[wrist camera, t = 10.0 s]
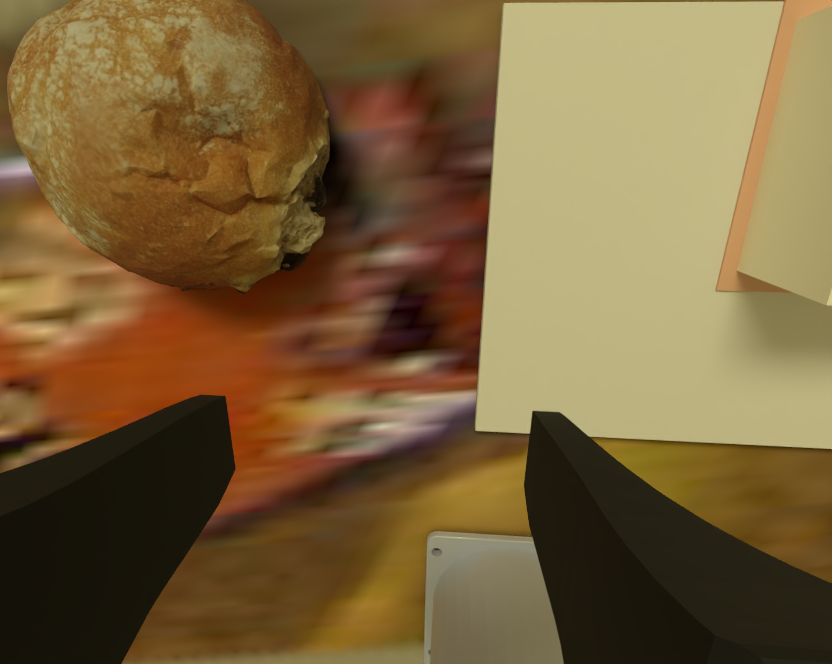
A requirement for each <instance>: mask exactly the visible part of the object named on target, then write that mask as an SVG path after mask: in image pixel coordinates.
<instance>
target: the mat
mask: <svg viewBox="0 0 832 664" xmlns="http://www.w3.org/2000/svg"><path fill="white" fill-rule="evenodd" d="M830 6H832V0H784V2H622V3H504V4H503V7H502V16H501V32H500V47H499V62H498V78H497V93H496V108H495V123H494V139H493V154H492V169H491V184H490V200H489V215H488V230H487V246H486V261H485V276H484V291H483V307H482V322H481V337H480V353H479V368H478V383H477V398H476V414H475V431H489V432H509V433H529V434H530V428H531V419H532V411H549V412H560V413H562V414H563V415H564V416H566V417H567V418H568V419H569V420H570V421H571V422H573V423H574V424H575V425H576V426H577V427H578V428H579V429H581V430H582V431H583V432H584V433H585V434H586V435H588V436H589V437H608V438H627V439H647V440H667V441H687V442H706V443H726V444H746V445H766V446H785V447H805V448H825V449H832V306H830V305H824V304H821V303H819V302H816V301H814V300H811V299H809V298H806V297H803V296H801V295H798V294H796V293H793V292H791V291H788V290H785V289H783V288H780V287H778V286H775V285H773V284H770V283H767V282H765V281H762V280H760V279H757V278H755V277H752V276H749V275H747V274H744V273H742V272H739V271H737V267H738V263H739V259H740V254H741V250H742V246H743V242H744V238H745V233H746V229H747V225H748V221H749V217H750V212H751V208H752V204H753V200H754V196H755V191H756V187H757V183H758V179H759V175H760V170H761V166H762V162H763V158H764V154H765V149H766V145H767V141H768V137H769V133H770V128H771V124H772V120H773V116H774V112H775V107H776V103H777V99H778V95H779V91H780V86H781V82H782V78H783V74H784V70H785V66H786V61H787V57H788V53H789V49H790V45H791V40H792V36H793V32H794V28H795V24H796V20H798V19H800V18H803V17H805V16H808V15H810V14H813V13H815V12H818V11H820V10H822V9H825V8H827V7H830Z"/></svg>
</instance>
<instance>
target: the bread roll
mask: <svg viewBox="0 0 832 664" xmlns="http://www.w3.org/2000/svg"><path fill="white" fill-rule="evenodd" d="M7 93H8V100H9V110H10V112H11V119H12V125H13V130H14V134H15V140H16V141H17V142H18V144H19V146H20V148H21V150H22V152H23V153H24V155H25V157H26V159H27V161H28V164H29V166H30V168H31V170H32V172H33V174H34V176H35V178H36V181H37V183H38V185H39V187H40V189H41V191H42V193H43V195H44V196H45V198H46V199H47V201H48V203H49V204H50V206H51V207H52V209H53V210H54V211H55V213H56V215H57V216H58V218H59V219H60V220H61V221H62V222H63V223H64V224H65V225H66V226H67V227H68V229H69V230H70V231H71V232H72V233H73V234H74V235H75V236H76V237H77V238H78V239H79V240H80V241H81V242H82V243H83V244H84V245H85V246H87V247H88V248H90V249H91V250H93V251H95V252H97V253H99V254H100V255H102V256H104V257H106V258H107V259H109V260H111V261H113V262H114V263H116V264H117V265H119V266H121V267H122V268H124V269H125V270H127V271H129V272H133V273H136V274H138V275H140V276H143V277H145V278H148V279H150V280H152V281H155V282H157V283H160V284H164V285H169V286H178V287H180V288H181V290H182V291H184V290H189V289H214V290H215V289H220V288H227V287H233V288H235V289H236V290H237V291H238V292H240V293H243V294H244V293H246V292H247V291H249V290H250V289H251V288H252V286H253V285H254V284H255V283H256V282H257V281H259V280H260V279H262V278H264V277H266V276H268V275H270V274H273V273H275V272H276V271H277V270H280V271H281V270H285V271H292V270H294V269H296V268H298V267H299V266H301V265H302V264H303V263H304V262H305V258H306V257H307V256H308V254H309V251H310V249H311V246H312V244H313V243H315V242H316V241H317V240H318V239H319V238H320V237H321V236H322V234H323V227H324V225H325V217H320V216H319V215H318V214H317V213H316V212H317V211H319V210H320V209H321V208H322V207H323V206H324V205H326V192H325V186H324V184H323V181H322V176H323V173H324V171H325V168H326V164H327V162H328V161H329V152H330V146H329V143H330V136H329V128H328V117H329V111H328V110H327V109H326V105H325V101H324V98H323V95H322V92H321V90H320V87H319V85H318V82H317V80H316V77H315V75H314V74H313V72H312V70H311V68H310V66H309V65H308V63H307V62H306V61H305V59H304V58H303V57H302V55H301V54H300V53H299V52H298V50H297V49H296V48H295V47H294V46H293V45H292V44H290V43H289V42H285V41H283V40H282V39H281V37H280V36H279V34H278V32H277V30H276V29H275V28H274V27H273V26H272V24H271V23H270V22H269V21H268V20H267V19H266V18H265V17H264V16H263V15H262V14H261V13H260V12H259V11H257V10H256V9H255V8H254V7H253V6H252V5H251V4H250V3H248V2H247V1H246V0H74V1H72V2H69V3H67V4H66V5H65V6H63V7H60V8H58V9H56V10H55V11H53V12H51V13H49V14H48V15H46V16H44V17H42V18H40V19H38V21H37V22H36V23H35V24H34V25H33V26H32V27H31V28H30V29H29V30H28V31H27V32H26V34H25V35H24V37H23V39H22V40H21V42H20V44H19V46H18V48H17V51H16V54H15V56H14V59H13V62H12V65H11V67H10V70H9V73H8V76H7ZM274 206H275V207H274Z"/></svg>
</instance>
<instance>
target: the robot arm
mask: <svg viewBox="0 0 832 664" xmlns="http://www.w3.org/2000/svg"><path fill="white" fill-rule="evenodd" d="M234 471H235V462H234V455H233V448H232V440H231V433H230V426H229V419H228V412H227V404H226V397H225V396H213V395H199V396H195V397H192V398H189V399H186V400H184V401H181V402H179V403H176V404H174V405H171V406H169V407H167V408H164V409H162V410H160V411H157V412H155V413H153V414H151V415H148V416H146V417H144V418H142V419H139V420H137V421H135V422H133V423H130V424H128V425H126V426H123V427H121V428H119V429H117V430H114V431H112V432H109V433H107V434H105V435H102V436H100V437H97V438H95V439H92V440H90V441H87V442H85V443H83V444H80V445H78V446H75V447H73V448H70V449H68V450H65V451H63V452H60V453H58V454H55V455H52V456H50V457H47V458H44V459H41V460H38V461H36V462H33V463H30V464H27V465H24V466H21V467H18V468H15V469H12V470H9V471H6V472H3V473H0V664H121V663H122V661H123V659H124V658H125V656H126V654H127V652H128V650H129V648H130V646H131V645H132V643H133V641H134V639H135V637H136V635H137V633H138V631H139V630H140V628H141V626H142V624H143V622H144V620H145V618H146V616H147V615H148V613H149V611H150V610H151V608H152V606H153V605H154V603H155V601H156V600H157V598H158V596H159V595H160V593H161V592H162V590H163V589H164V587H165V586H166V584H167V583H168V581H169V580H170V578H171V577H172V575H173V574H174V572H175V571H176V569H177V568H178V566H179V565H180V563H181V562H182V560H183V559H184V557H185V556H186V554H187V553H188V551H189V550H190V548H191V547H192V545H193V544H194V542H195V541H196V539H197V538H198V536H199V534H200V533H201V531H202V530H203V528H204V527H205V525H206V524H207V522H208V521H209V519H210V518H211V516H212V515H213V513H214V511H215V510H216V508H217V507H218V505H219V503H220V501H221V499H222V497H223V495H224V493H225V491H226V489H227V486H228V484H229V482H230V480H231V478H232V475H233V473H234ZM524 489H525V497H526V505H527V512H528V519H529V526H530V529H531V533H532V537H523V536H507V535H492V534H476V533H460V532H445V531H433V532H431V533H430V534H429V535H428V537H427V557H426V592H425V627H424V662H423V663H424V664H832V584H831V583H829V582H827V581H825V580H822V579H820V578H818V577H816V576H813V575H811V574H809V573H807V572H804V571H802V570H800V569H798V568H795V567H793V566H791V565H789V564H787V563H785V562H783V561H781V560H779V559H777V558H774V557H772V556H770V555H768V554H766V553H764V552H762V551H760V550H758V549H756V548H754V547H752V546H751V545H749V544H747V543H745V542H743V541H741V540H739V539H737V538H735V537H734V536H732V535H730V534H728V533H726V532H724V531H722V530H720V529H719V528H717V527H715V526H713V525H712V524H710V523H708V522H706V521H705V520H703V519H701V518H700V517H698V516H696V515H695V514H693V513H692V512H690V511H688V510H687V509H685V508H684V507H682V506H680V505H679V504H677V503H676V502H674V501H672V500H671V499H669V498H668V497H666V496H665V495H663V494H662V493H660V492H659V491H657V490H656V489H655V488H653V487H652V486H650V485H649V484H648V483H646V482H645V481H644V480H642V479H641V478H639V477H638V476H637V475H635V474H634V473H633V472H631V471H630V470H629V469H627V468H626V467H625V466H624V465H622V464H621V463H620V462H618V461H617V460H616V459H615V458H614V457H612V456H611V455H610V454H609V453H607V452H606V451H605V450H604V449H603V448H601V447H600V446H599V445H598V444H597V443H596V442H594V441H593V440H592V439H591V438H590V437H589V436H588V435H586V434H585V433H584V432H583V431H582V430H581V429H579V428H578V427H577V426H576V425H575V424H574V423H573V422H571V421H570V420H569V419H568V418H567V417H566V416H564V415H563V414H562V413H560V412H549V411H532V419H531V428H530V437H529V446H528V455H527V463H526V472H525V481H524ZM434 548H438V549H440V550H434Z"/></svg>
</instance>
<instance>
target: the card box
mask: <svg viewBox="0 0 832 664" xmlns="http://www.w3.org/2000/svg"><path fill="white" fill-rule="evenodd" d="M737 271H739V272H742V273H744V274H747V275H749V276H752V277H755V278H757V279H760V280H762V281H765V282H767V283H770V284H773V285H775V286H778V287H780V288H783V289H785V290H788V291H791V292H793V293H796V294H798V295H801V296H803V297H806V298H809V299H811V300H814V301H816V302H819V303H821V304H824V305H830V306H832V6H830V7H827V8H825V9H822V10H820V11H818V12H815V13H813V14H810V15H808V16H805V17H803V18H800V19H798V20H796V24H795V28H794V32H793V36H792V40H791V45H790V49H789V53H788V57H787V61H786V66H785V70H784V74H783V78H782V82H781V86H780V91H779V95H778V99H777V103H776V107H775V112H774V116H773V120H772V124H771V128H770V133H769V137H768V141H767V145H766V149H765V154H764V158H763V162H762V166H761V170H760V175H759V179H758V183H757V187H756V191H755V196H754V200H753V204H752V208H751V212H750V217H749V221H748V225H747V229H746V233H745V238H744V242H743V246H742V250H741V254H740V259H739V263H738V267H737Z"/></svg>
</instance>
